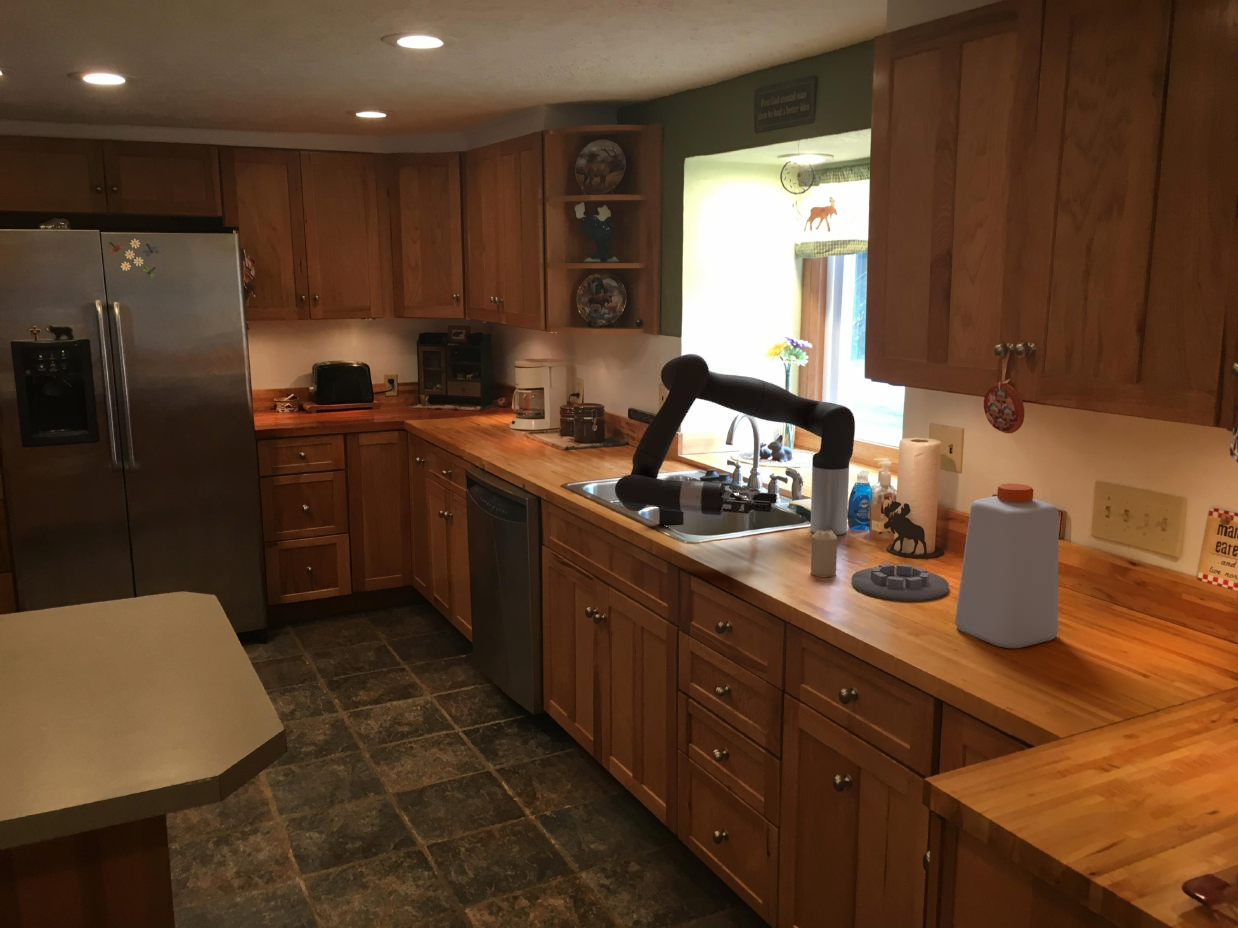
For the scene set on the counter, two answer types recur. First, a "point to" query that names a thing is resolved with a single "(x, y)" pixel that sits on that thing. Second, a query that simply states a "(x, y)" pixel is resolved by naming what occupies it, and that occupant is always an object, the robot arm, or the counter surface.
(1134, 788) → the counter surface
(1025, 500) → the plastic bottle
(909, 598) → the candle dish
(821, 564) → the candle
